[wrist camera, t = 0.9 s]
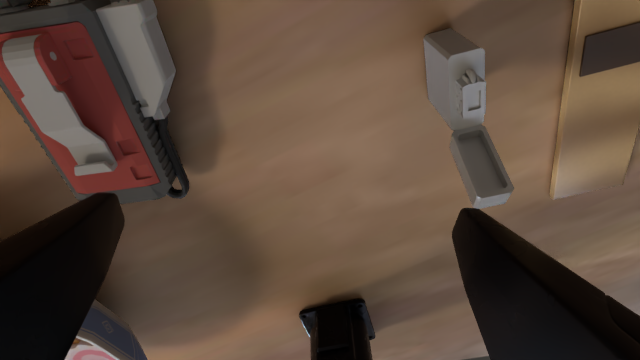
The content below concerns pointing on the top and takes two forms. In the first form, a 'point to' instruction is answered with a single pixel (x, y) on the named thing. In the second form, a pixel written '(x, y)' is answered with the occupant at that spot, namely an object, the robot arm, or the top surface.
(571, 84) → the strip
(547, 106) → the top surface
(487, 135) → the lighter
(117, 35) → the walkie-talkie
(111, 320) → the ramen bowl
